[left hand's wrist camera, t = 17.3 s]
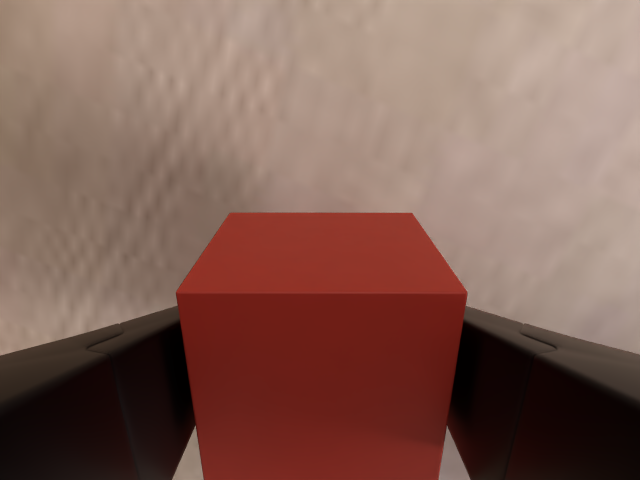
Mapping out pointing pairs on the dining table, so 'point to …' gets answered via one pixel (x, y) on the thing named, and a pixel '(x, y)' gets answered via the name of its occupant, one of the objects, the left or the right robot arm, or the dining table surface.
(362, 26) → the dining table surface
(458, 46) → the dining table surface
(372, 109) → the dining table surface
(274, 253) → the red cube
